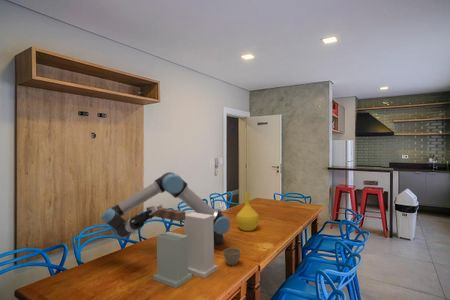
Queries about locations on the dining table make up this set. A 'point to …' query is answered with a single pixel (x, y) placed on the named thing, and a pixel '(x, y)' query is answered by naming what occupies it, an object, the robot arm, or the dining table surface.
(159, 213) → the walnut beam
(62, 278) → the dining table surface
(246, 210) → the vase
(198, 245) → the tall stand
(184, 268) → the post
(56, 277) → the dining table surface
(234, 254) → the beige round bowl
